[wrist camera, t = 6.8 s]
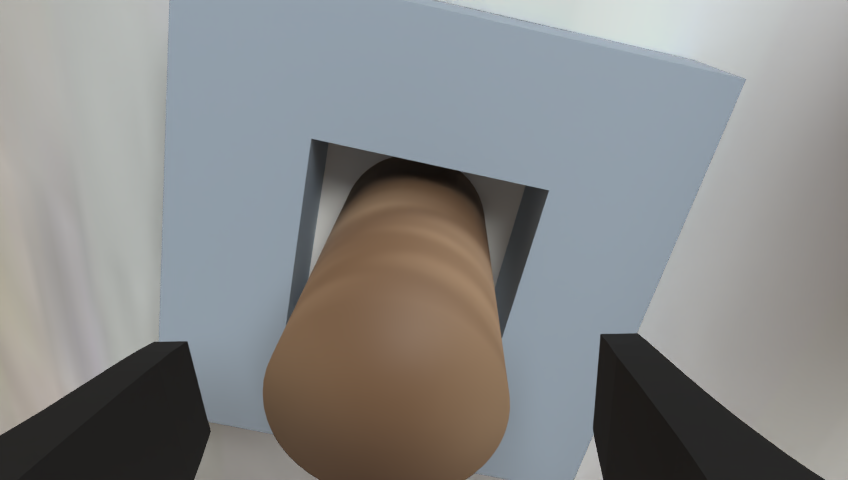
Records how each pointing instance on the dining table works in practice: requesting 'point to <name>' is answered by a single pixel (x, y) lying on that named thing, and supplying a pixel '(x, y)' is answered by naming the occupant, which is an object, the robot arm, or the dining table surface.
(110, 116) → the dining table surface
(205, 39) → the socket block
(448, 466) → the peg
